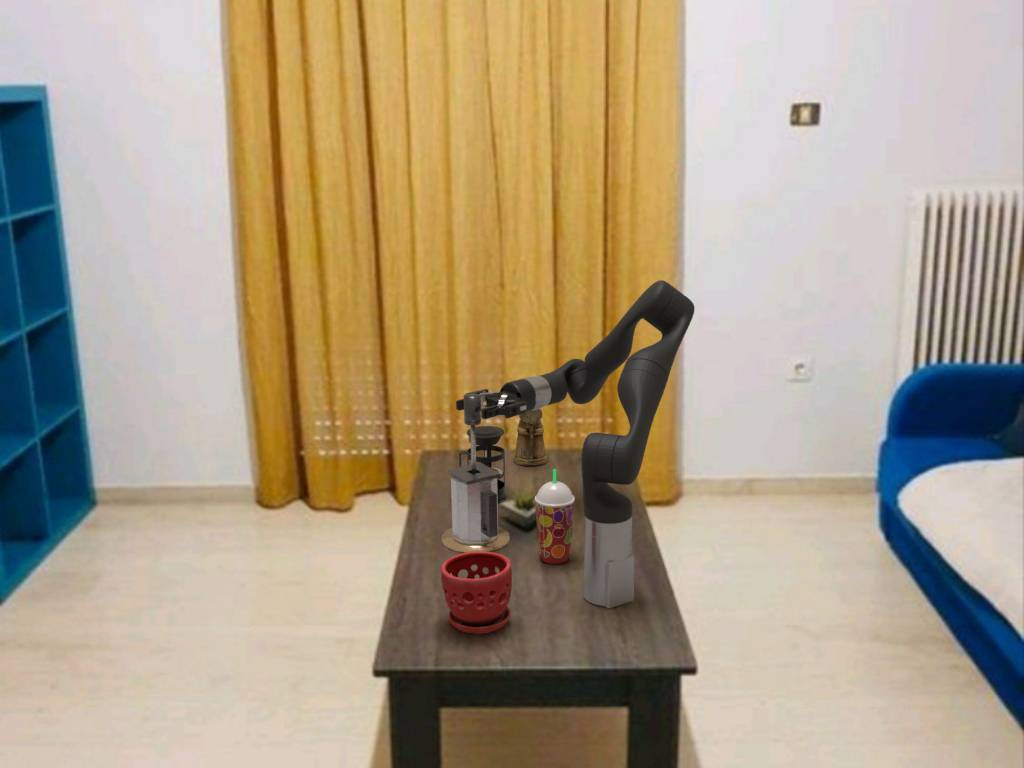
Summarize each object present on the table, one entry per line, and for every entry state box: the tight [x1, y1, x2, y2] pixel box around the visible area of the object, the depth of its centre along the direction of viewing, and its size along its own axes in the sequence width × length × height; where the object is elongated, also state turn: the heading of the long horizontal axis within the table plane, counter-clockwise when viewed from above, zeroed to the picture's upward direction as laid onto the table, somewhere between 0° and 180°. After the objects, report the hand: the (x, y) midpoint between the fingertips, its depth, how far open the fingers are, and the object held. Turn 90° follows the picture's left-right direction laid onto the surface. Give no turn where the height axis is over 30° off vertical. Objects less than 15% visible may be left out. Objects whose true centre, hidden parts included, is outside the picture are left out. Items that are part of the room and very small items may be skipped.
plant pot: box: [440, 551, 513, 635], centre depth 205 cm, size 13×13×12 cm
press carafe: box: [441, 462, 511, 553], centre depth 241 cm, size 15×15×16 cm
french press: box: [458, 409, 507, 502], centre depth 264 cm, size 12×9×23 cm
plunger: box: [463, 392, 482, 474], centre depth 237 cm, size 8×8×22 cm
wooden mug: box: [513, 408, 548, 467], centre depth 287 cm, size 9×14×18 cm, turn 0°
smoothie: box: [534, 468, 576, 565], centre depth 230 cm, size 8×8×20 cm
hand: (469, 410), depth 235 cm, fingers open, 8 cm apart
